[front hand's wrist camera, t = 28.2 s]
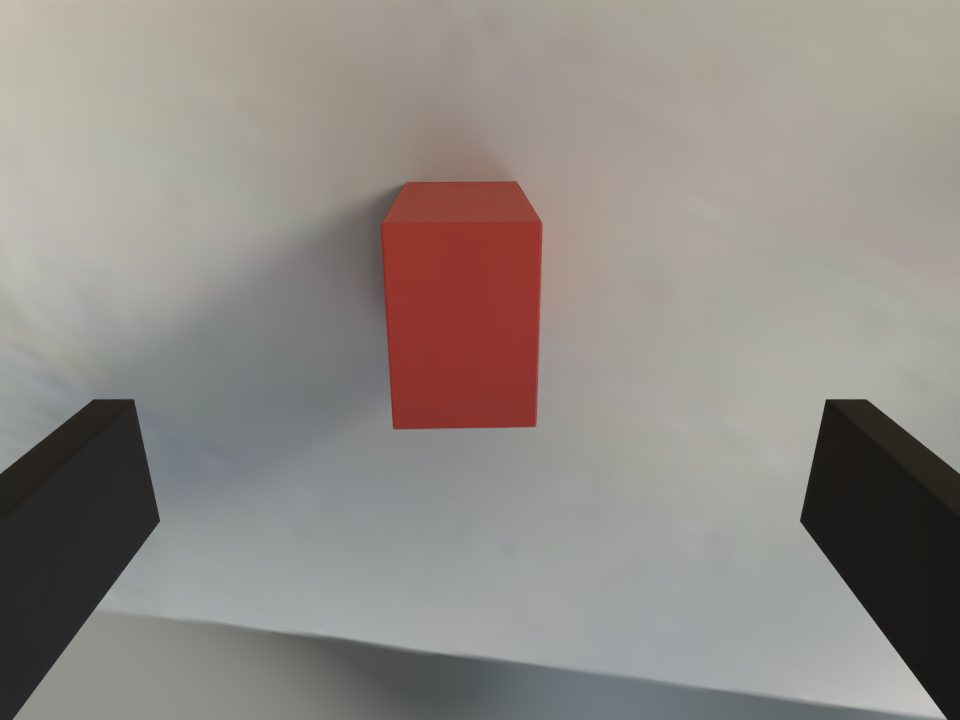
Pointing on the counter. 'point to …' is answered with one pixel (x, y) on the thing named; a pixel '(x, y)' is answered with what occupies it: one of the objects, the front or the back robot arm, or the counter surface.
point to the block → (462, 305)
